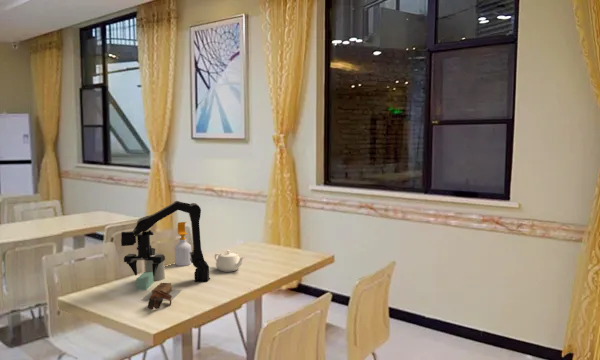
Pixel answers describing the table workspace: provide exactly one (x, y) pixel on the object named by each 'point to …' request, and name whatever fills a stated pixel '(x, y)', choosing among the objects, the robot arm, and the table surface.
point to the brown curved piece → (158, 299)
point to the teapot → (228, 261)
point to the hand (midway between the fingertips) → (145, 275)
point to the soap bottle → (182, 248)
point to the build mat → (172, 293)
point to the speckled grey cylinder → (160, 270)
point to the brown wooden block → (159, 289)
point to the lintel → (144, 281)
